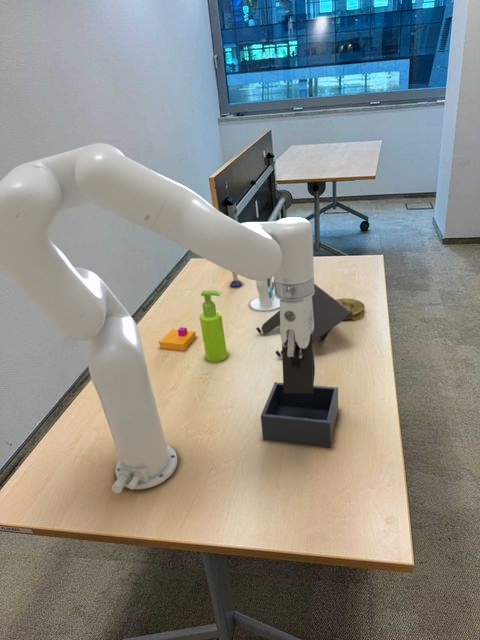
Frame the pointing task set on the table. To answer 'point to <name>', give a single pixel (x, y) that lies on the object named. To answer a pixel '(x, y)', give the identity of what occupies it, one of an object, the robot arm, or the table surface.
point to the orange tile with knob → (178, 339)
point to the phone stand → (299, 371)
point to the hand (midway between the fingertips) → (298, 367)
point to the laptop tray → (316, 316)
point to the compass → (353, 307)
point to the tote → (300, 416)
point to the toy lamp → (235, 281)
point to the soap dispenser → (212, 329)
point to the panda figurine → (265, 296)
